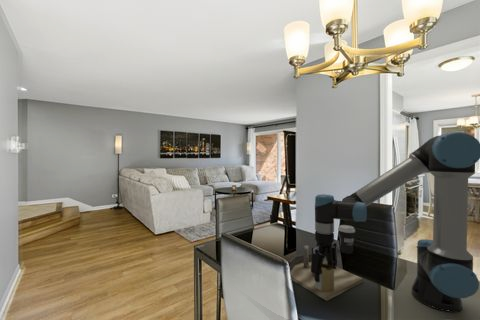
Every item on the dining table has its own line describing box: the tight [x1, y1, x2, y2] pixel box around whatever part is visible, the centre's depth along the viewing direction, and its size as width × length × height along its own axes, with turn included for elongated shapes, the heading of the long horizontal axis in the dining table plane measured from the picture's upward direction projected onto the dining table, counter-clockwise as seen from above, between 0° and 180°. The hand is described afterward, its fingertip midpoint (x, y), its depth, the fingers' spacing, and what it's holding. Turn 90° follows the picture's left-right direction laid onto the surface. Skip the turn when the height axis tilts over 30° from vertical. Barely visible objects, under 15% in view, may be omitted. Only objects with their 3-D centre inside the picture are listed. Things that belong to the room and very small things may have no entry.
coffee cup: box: [337, 224, 356, 255], centre depth 138 cm, size 10×10×15 cm
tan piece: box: [320, 262, 334, 292], centre depth 97 cm, size 7×7×9 cm
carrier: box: [287, 244, 364, 302], centre depth 109 cm, size 28×26×12 cm
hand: (324, 285), depth 97 cm, fingers closed on tan piece, 7 cm apart
